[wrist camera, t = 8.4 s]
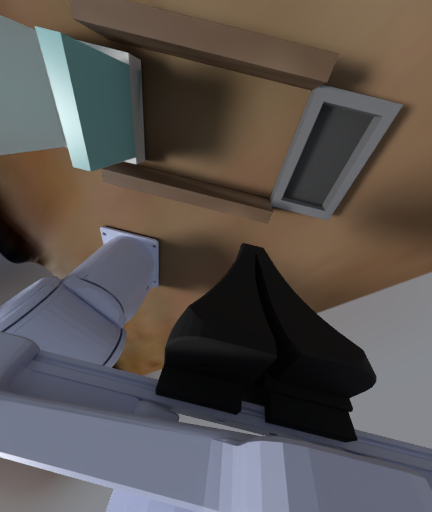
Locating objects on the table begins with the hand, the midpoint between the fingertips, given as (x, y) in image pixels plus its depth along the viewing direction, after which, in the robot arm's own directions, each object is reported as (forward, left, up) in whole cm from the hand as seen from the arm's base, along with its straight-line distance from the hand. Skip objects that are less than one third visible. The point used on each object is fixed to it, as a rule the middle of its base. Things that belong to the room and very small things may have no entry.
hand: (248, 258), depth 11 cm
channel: (+5, +6, -10) cm, 13 cm away
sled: (+5, +15, -10) cm, 19 cm away
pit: (+5, -5, -10) cm, 13 cm away
